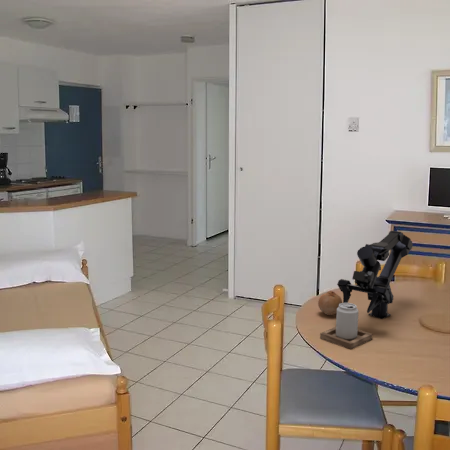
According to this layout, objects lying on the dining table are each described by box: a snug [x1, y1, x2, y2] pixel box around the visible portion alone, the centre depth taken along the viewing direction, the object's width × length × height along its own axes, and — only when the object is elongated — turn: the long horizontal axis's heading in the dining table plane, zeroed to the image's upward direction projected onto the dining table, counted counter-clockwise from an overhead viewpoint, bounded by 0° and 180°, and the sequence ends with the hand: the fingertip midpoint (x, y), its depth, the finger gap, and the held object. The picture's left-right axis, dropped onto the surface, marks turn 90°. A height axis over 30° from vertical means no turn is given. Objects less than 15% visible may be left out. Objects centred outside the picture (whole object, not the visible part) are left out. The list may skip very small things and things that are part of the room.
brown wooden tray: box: [319, 326, 373, 350], centre depth 194 cm, size 13×13×2 cm
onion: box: [317, 290, 343, 316], centre depth 217 cm, size 10×9×10 cm
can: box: [335, 302, 359, 340], centre depth 193 cm, size 8×8×12 cm
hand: (355, 309), depth 198 cm, fingers open, 9 cm apart
